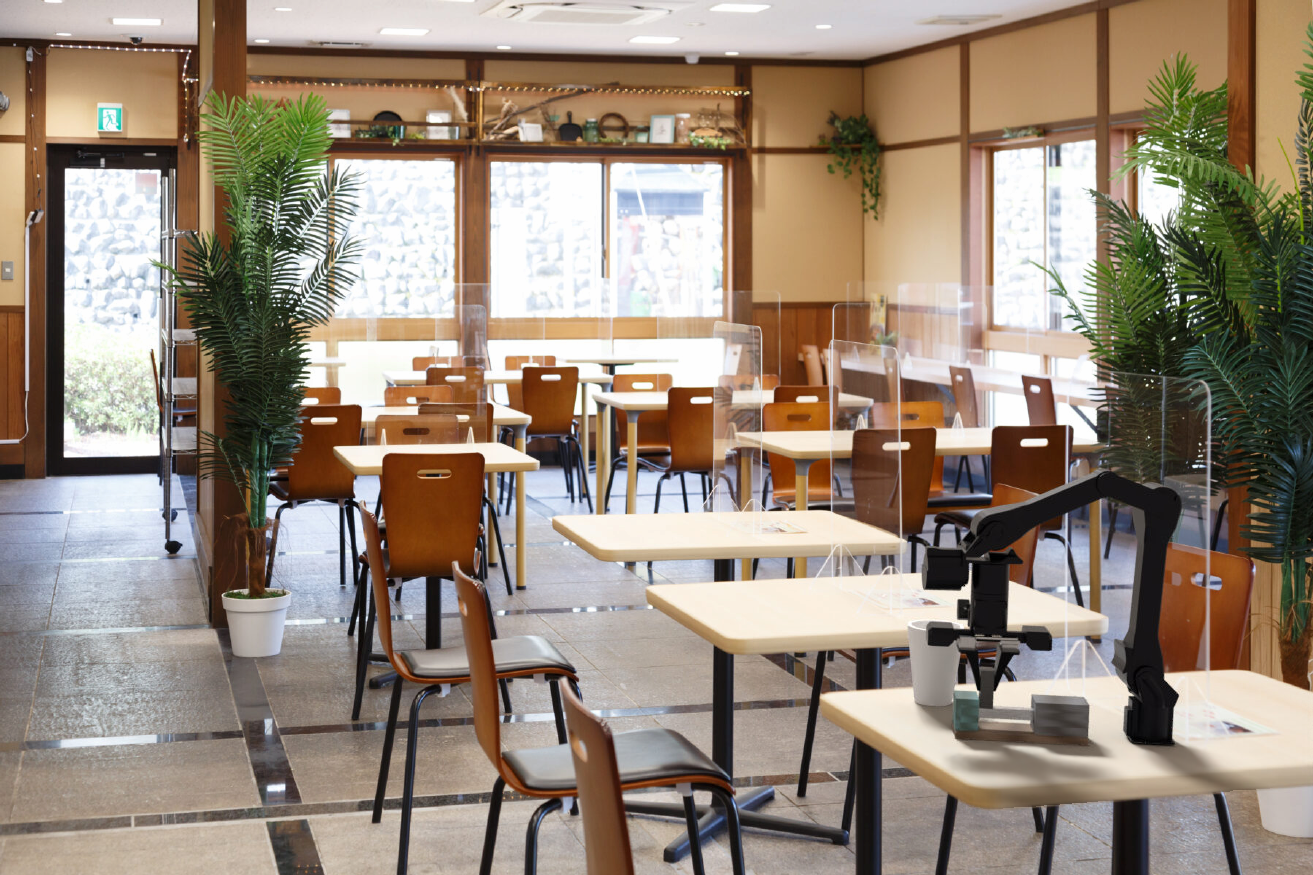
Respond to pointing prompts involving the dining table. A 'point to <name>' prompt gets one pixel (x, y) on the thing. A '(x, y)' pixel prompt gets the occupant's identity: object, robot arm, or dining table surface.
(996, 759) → the dining table surface
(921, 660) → the foam cup
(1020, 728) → the wooden long base
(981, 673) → the angled grey metal bar
